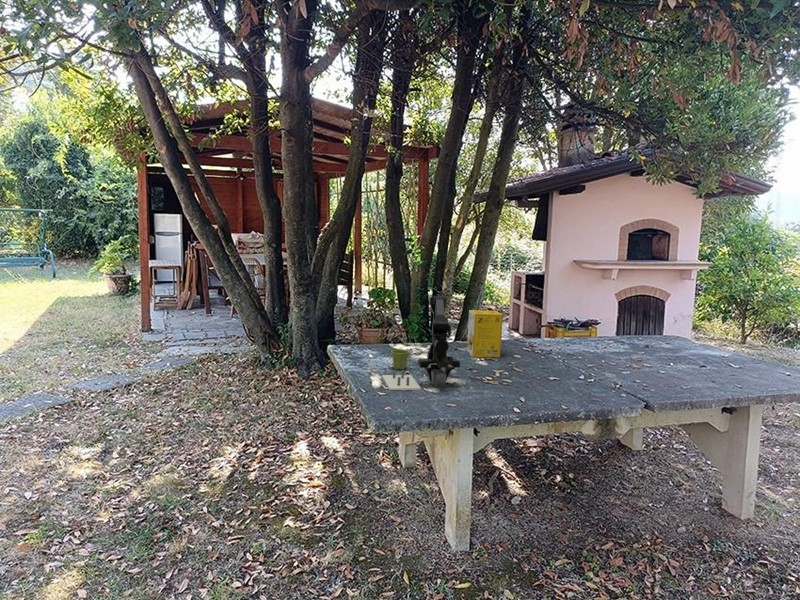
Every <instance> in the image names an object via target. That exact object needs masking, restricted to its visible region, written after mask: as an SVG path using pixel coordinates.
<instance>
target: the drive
mask: <svg viewBox="0 0 800 600" xmlns="http://www.w3.org/2000/svg"><path fill="white" fill-rule="evenodd" d="M431 376H432V380H431V382H430V383H431V385H432V386H433V387H434V388H447V380H446V374H445V371H443V369H442V368H441V369H432V370H431Z"/></svg>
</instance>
